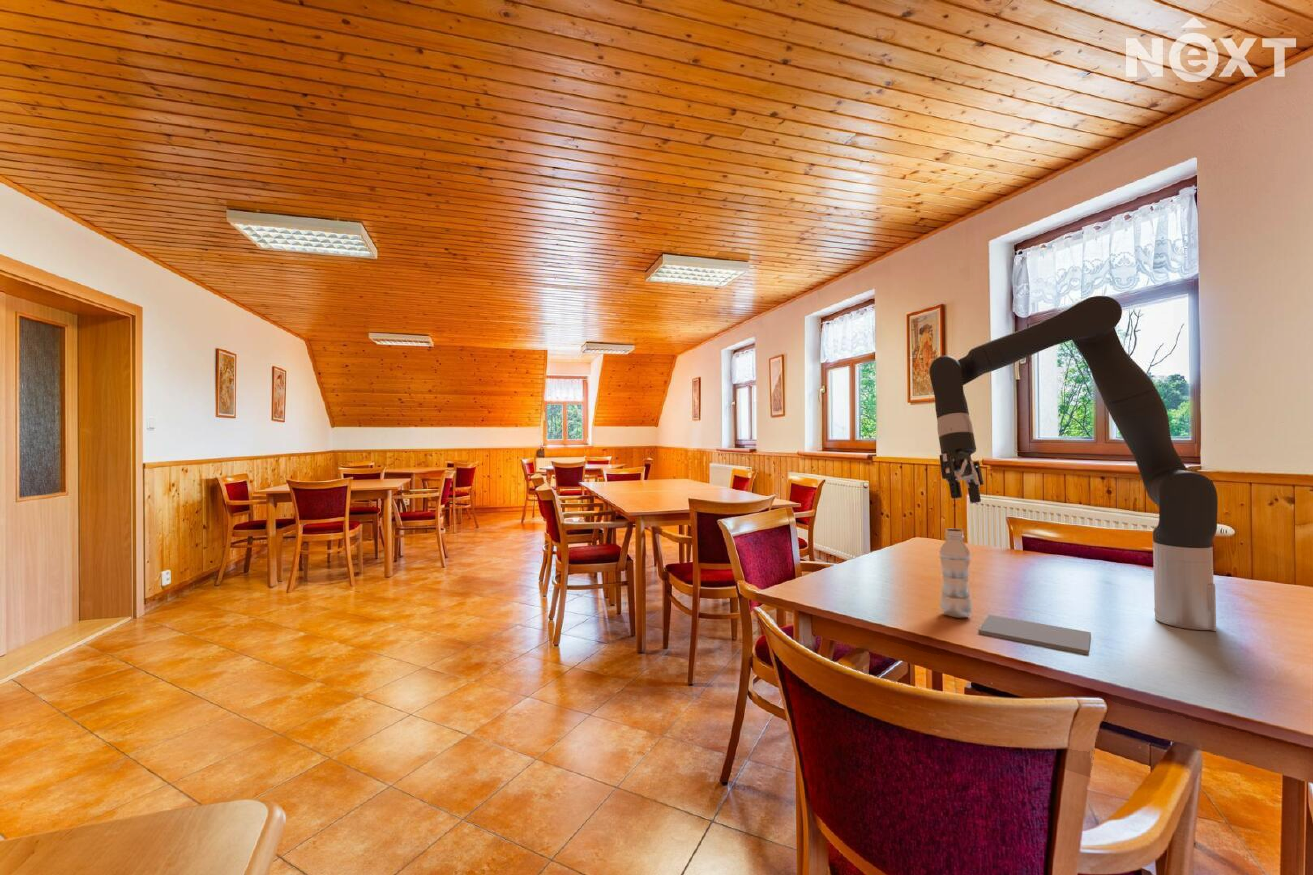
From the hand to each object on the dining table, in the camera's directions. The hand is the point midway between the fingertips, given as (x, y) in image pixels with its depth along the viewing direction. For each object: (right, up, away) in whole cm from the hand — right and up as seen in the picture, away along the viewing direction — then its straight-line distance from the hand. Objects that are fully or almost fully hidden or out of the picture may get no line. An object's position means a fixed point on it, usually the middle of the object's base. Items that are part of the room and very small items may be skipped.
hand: (966, 500), depth 125 cm
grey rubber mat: (+6, -26, -14) cm, 31 cm away
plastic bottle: (-4, -27, -2) cm, 27 cm away
